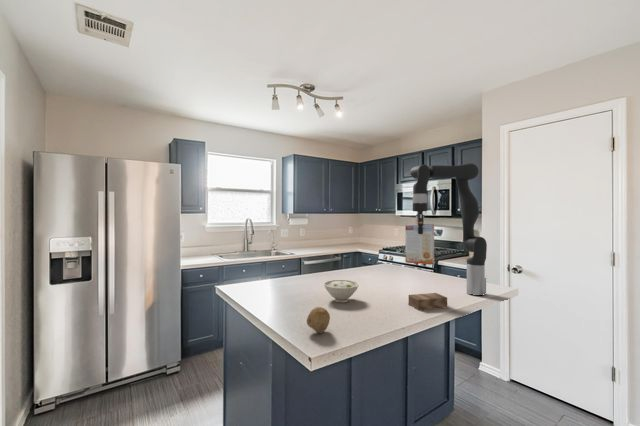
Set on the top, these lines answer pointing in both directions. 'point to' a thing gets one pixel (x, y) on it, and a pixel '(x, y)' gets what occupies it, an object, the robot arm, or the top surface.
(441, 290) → the top surface
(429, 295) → the block
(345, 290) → the bowl
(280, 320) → the top surface
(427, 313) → the top surface
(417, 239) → the cracker box
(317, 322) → the brown round lump
